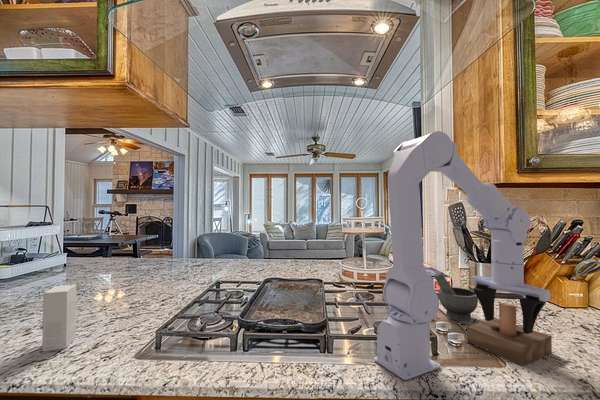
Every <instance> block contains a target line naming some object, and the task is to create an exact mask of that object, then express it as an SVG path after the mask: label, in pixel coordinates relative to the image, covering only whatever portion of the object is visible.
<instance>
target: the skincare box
mask: <svg viewBox="0 0 600 400" xmlns="http://www.w3.org/2000/svg"><path fill="white" fill-rule="evenodd" d="M76 337H77V284H67V285H66V284H64V285H54V286H53V287H52V288H50V289H48V290H47V291H45V292H43V293H42V337H41V338H42V342H41V343H42V345H41V351H42V352H43V353H44V352H51V351H58V350H66V349H67V348H68V347H69V345H70V344H72V343H73V341H74V339H75V338H76Z"/></svg>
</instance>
